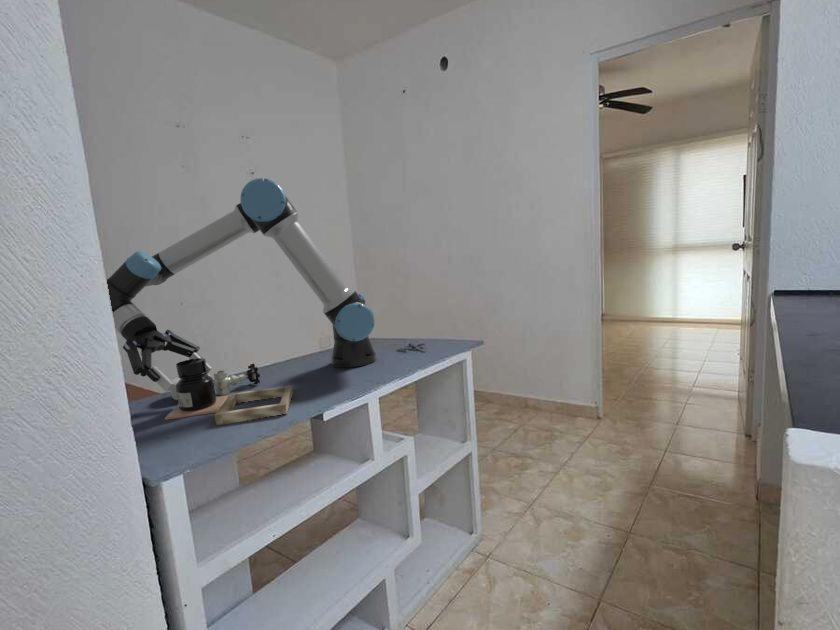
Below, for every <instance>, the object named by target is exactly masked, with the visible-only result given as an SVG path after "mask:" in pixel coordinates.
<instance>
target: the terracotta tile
mask: <svg viewBox="0 0 840 630" xmlns="http://www.w3.org/2000/svg"><path fill="white" fill-rule="evenodd" d="M228 396H229V394H227V395H223V396H216V402H215V403H214V404H213V405H211V406H208V407H205V408H202V409H197V410H192V411H183V410H181V409H180V408H179V404H177V405H176V406H175V407H174V408H173V409H172V410H171V411H170V412H169V413H168V414H167V415H166V416H165V418H164V419H165V420H166V421H168V420H172V419H175V420H176V419H181V418H186V417H194V416H200V415H201V416H202V415H208V414H214V413H215V414H216V413H217V411H218V410H219V408H220V407H221V406H222V404H223V403H224V402H225V400H226V399H227V398H228Z"/></svg>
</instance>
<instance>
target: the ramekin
mask: <svg viewBox="0 0 840 630" xmlns="http://www.w3.org/2000/svg"><path fill="white" fill-rule="evenodd" d="M207 375H208V376H210V377H211V375H210V373H208V374H207ZM170 380H171V381H172V382H173V383H174V384H173V385H172V387H171V388H170V390H169V391H168V392H169V393H170V395H171V398H172V399H174V401H177V400H178V398H177V392H176V384H177V383H178V382H179V380H180V378H179V376H177V377H175V378H172V379H170Z"/></svg>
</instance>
